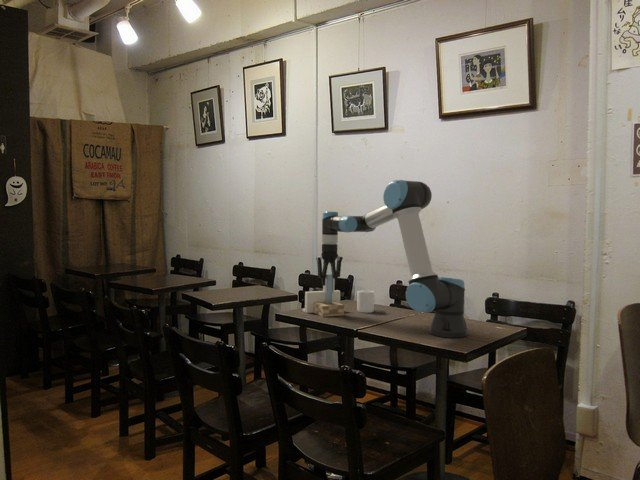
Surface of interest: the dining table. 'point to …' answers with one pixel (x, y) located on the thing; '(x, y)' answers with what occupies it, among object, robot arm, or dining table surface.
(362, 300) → the cup
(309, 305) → the panel
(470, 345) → the dining table surface
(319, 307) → the block
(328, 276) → the dowel
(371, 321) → the dining table surface
